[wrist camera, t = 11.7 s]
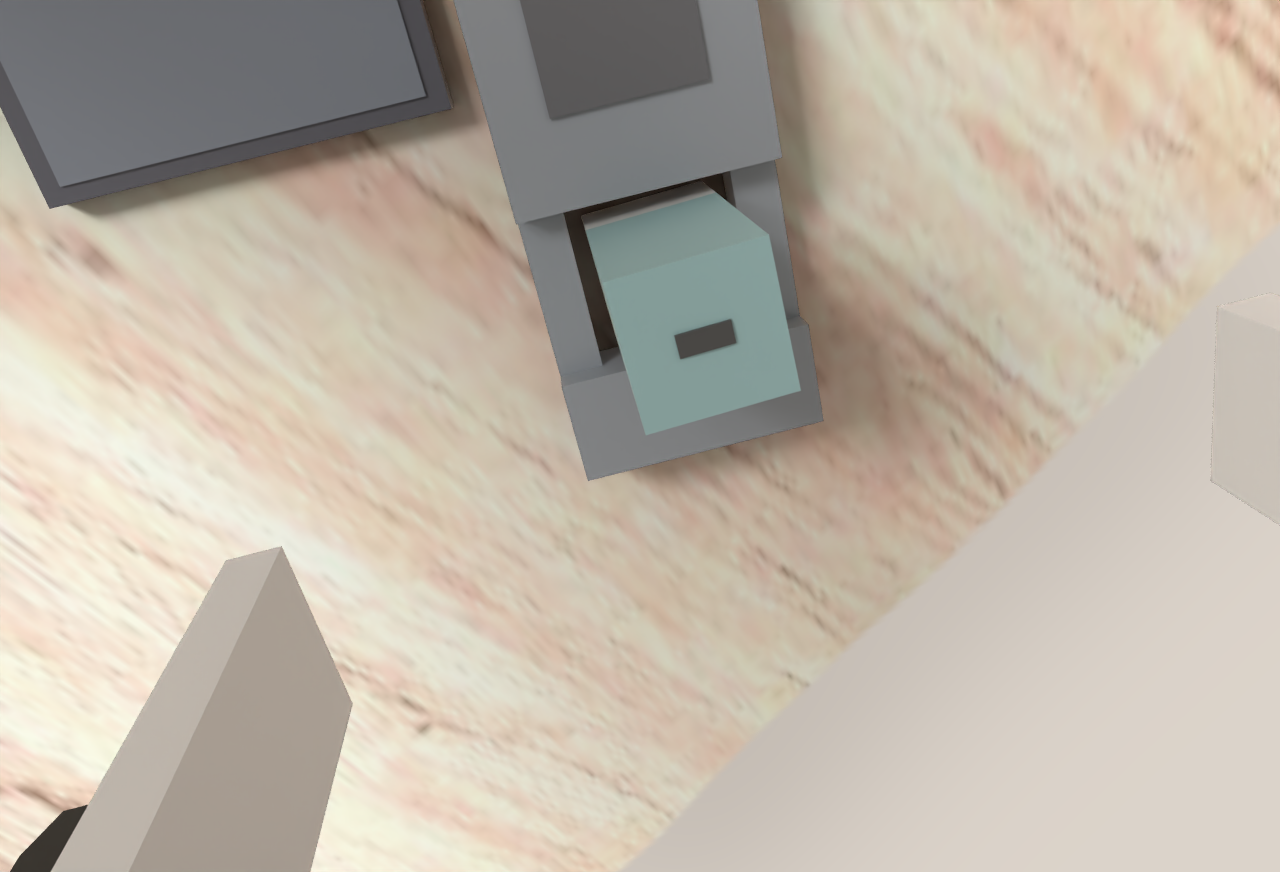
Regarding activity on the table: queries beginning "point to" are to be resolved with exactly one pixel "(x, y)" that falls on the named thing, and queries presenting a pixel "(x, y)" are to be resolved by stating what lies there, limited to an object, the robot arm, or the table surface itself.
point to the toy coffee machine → (631, 176)
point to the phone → (202, 82)
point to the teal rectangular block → (692, 305)
